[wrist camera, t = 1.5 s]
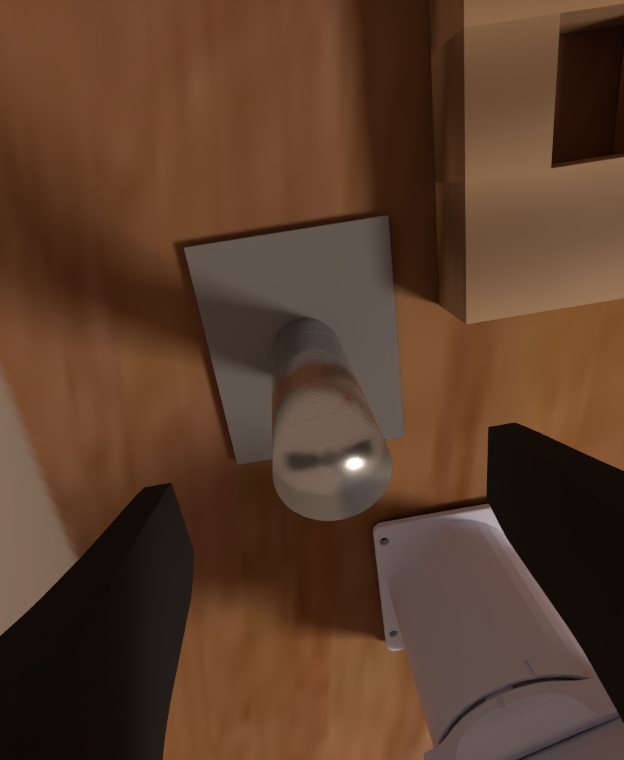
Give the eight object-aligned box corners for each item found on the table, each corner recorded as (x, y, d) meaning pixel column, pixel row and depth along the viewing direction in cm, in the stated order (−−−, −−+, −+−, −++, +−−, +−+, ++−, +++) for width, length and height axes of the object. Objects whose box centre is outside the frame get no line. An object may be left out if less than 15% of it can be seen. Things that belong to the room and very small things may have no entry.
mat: (402, 432, 22) (404, 436, 22) (237, 460, 22) (237, 464, 22) (386, 214, 18) (388, 215, 18) (185, 246, 18) (183, 247, 18)
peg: (344, 378, 20) (396, 510, 12) (277, 389, 20) (283, 529, 12) (335, 312, 19) (387, 409, 11) (265, 324, 19) (262, 431, 11)
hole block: (663, 267, 20) (725, 281, 17) (438, 304, 20) (466, 324, 17) (735, -178, 15) (845, -263, 12) (424, -134, 14) (462, -210, 12)
